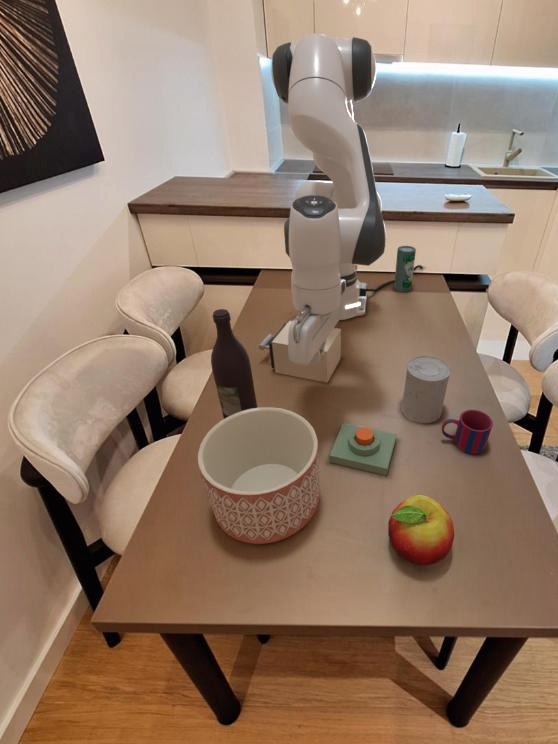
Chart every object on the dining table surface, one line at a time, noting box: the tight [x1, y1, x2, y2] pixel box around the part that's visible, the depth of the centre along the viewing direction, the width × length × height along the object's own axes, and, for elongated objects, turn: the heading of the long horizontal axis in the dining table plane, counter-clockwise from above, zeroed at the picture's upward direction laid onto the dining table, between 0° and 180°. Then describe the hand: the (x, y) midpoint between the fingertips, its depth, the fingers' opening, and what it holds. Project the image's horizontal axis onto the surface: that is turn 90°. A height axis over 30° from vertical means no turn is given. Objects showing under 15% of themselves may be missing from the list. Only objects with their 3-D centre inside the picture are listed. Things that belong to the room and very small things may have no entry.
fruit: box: [387, 494, 455, 567], centre depth 65 cm, size 11×11×10 cm
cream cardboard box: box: [272, 320, 342, 384], centre depth 106 cm, size 15×12×10 cm
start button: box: [356, 426, 373, 446], centre depth 82 cm, size 4×4×2 cm
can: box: [393, 245, 417, 293], centre depth 144 cm, size 6×6×15 cm
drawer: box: [258, 323, 287, 369], centre depth 106 cm, size 18×10×8 cm, turn 74°
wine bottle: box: [210, 308, 258, 419], centre depth 78 cm, size 7×7×30 cm
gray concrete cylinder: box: [401, 355, 452, 424], centre depth 92 cm, size 10×10×12 cm
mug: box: [441, 409, 494, 455], centre depth 85 cm, size 7×10×7 cm
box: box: [328, 422, 397, 476], centre depth 83 cm, size 10×12×4 cm
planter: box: [197, 406, 321, 545], centre depth 70 cm, size 19×19×15 cm
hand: (317, 359), depth 81 cm, fingers closed
